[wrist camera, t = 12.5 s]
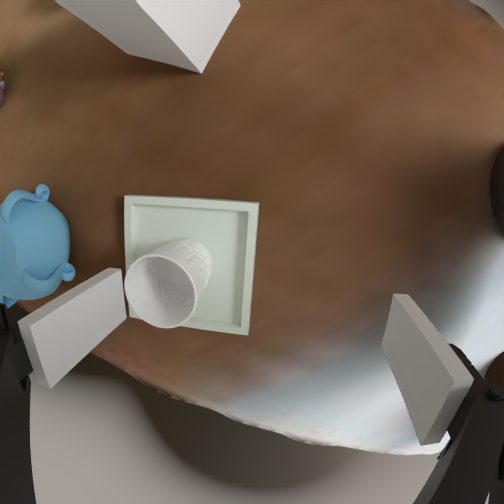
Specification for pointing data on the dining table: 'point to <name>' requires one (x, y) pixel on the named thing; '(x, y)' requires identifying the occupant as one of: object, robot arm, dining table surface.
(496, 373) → the olive oil
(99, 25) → the milk
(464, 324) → the dining table surface
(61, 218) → the decorative pot
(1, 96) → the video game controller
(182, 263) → the white cup
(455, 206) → the dining table surface
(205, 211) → the tray
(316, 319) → the dining table surface
